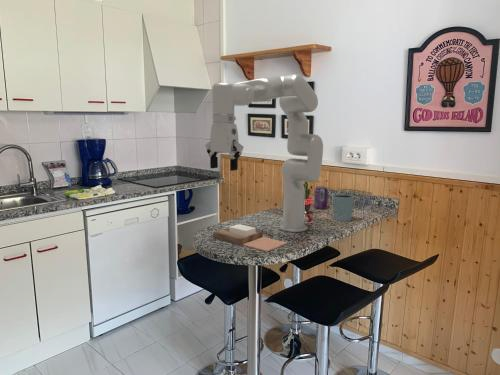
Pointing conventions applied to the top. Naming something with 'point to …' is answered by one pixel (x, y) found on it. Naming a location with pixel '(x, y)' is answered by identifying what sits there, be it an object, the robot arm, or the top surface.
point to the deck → (235, 236)
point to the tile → (242, 230)
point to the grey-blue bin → (343, 207)
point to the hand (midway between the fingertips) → (223, 169)
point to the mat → (265, 244)
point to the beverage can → (321, 197)
